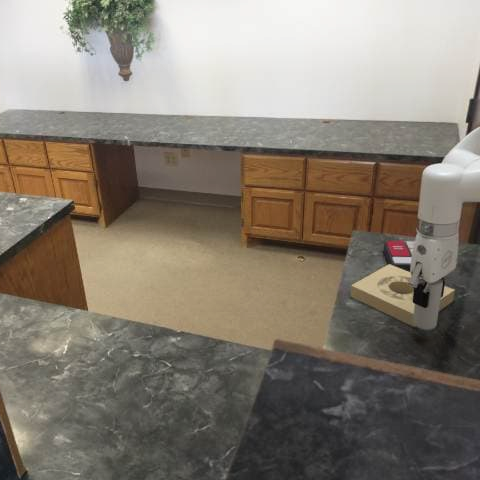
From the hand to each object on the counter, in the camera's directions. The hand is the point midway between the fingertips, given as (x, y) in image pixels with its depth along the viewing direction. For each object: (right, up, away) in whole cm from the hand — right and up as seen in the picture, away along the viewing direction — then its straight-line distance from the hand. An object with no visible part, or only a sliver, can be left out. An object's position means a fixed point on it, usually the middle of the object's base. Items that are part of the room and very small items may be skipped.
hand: (427, 299), depth 111 cm
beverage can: (+1, -6, +3) cm, 7 cm away
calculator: (+12, +6, +34) cm, 37 cm away
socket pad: (+3, -2, +19) cm, 19 cm away
